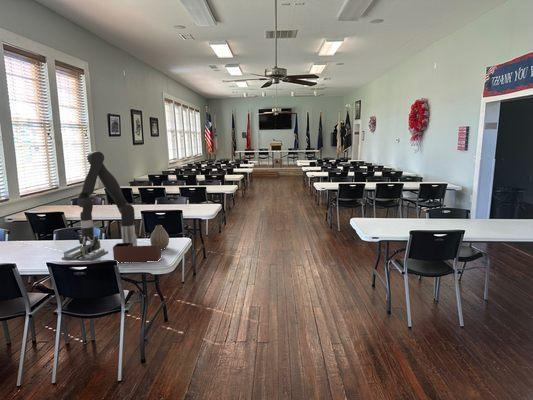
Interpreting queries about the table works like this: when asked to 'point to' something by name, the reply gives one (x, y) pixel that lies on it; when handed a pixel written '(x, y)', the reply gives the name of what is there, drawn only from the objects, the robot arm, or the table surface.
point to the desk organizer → (136, 253)
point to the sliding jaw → (72, 251)
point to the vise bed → (89, 255)
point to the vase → (159, 237)
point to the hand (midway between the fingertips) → (89, 250)
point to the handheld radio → (88, 249)
